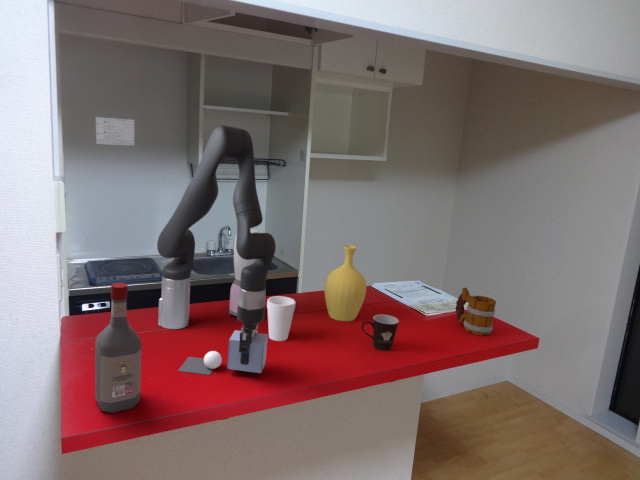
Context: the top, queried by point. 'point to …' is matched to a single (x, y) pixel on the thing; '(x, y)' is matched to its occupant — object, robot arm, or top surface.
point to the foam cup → (280, 316)
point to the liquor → (117, 358)
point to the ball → (212, 360)
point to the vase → (345, 289)
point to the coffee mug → (383, 331)
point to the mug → (476, 313)
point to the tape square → (195, 366)
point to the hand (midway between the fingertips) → (247, 358)
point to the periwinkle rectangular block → (255, 355)
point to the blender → (238, 277)
